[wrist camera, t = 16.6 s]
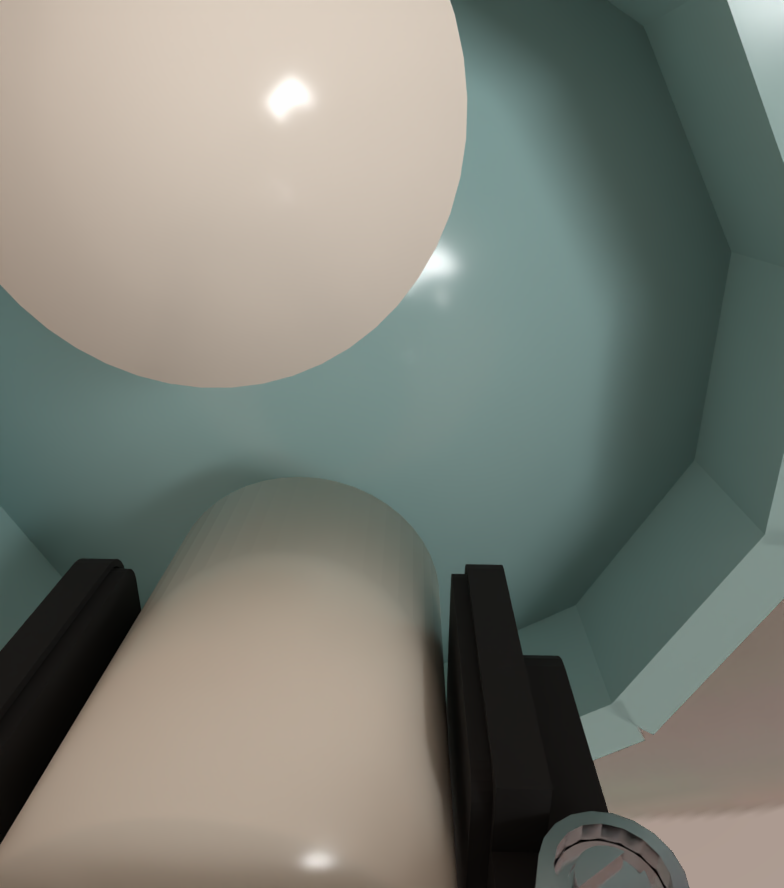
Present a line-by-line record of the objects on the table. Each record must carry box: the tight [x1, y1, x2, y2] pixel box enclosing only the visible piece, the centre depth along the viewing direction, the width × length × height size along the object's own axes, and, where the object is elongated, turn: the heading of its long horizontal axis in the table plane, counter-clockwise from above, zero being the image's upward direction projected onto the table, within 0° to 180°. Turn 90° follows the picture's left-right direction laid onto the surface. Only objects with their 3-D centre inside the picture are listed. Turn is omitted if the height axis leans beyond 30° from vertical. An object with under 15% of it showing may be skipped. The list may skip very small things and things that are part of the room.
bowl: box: [0, 0, 784, 760], centre depth 12 cm, size 16×16×4 cm
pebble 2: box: [0, 477, 457, 888], centre depth 9 cm, size 4×4×6 cm
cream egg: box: [0, 0, 467, 388], centre depth 8 cm, size 4×4×6 cm
